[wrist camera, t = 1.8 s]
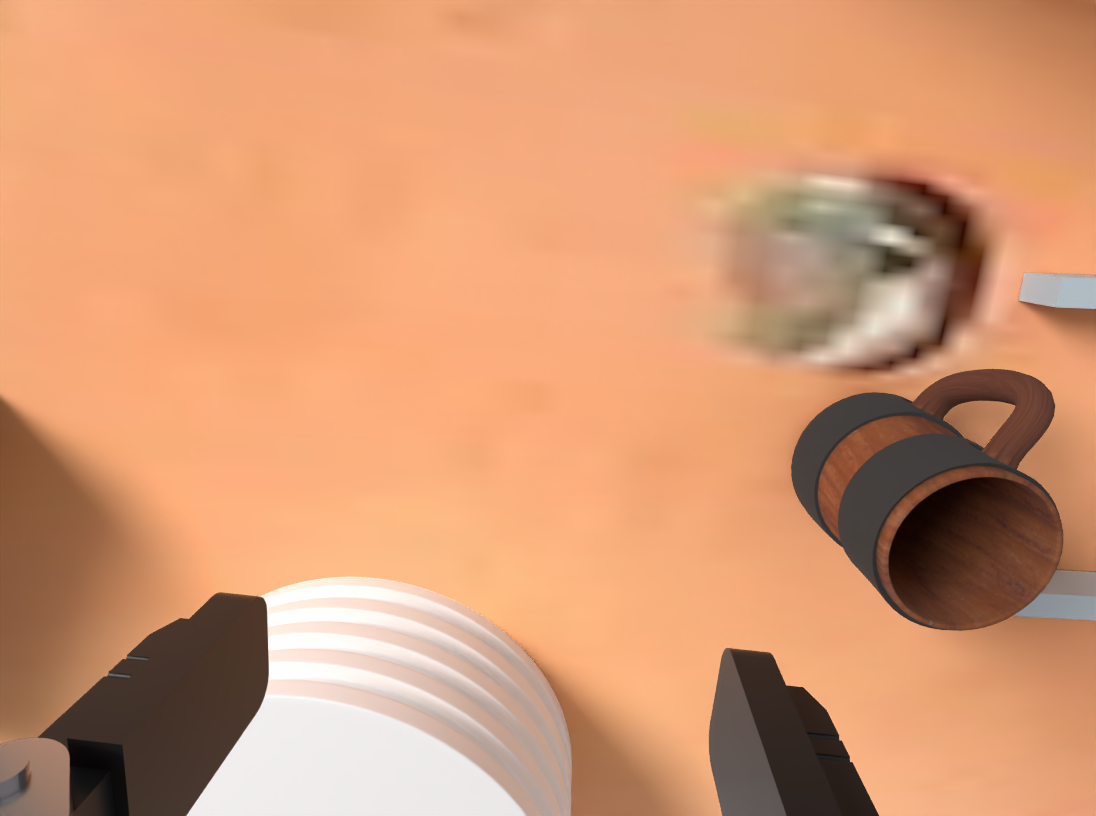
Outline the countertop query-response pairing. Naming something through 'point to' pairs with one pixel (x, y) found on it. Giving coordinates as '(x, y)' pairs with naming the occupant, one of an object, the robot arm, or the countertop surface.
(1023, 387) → the mug
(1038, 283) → the dock bay
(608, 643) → the countertop surface
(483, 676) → the plate stack
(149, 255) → the countertop surface
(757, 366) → the countertop surface
